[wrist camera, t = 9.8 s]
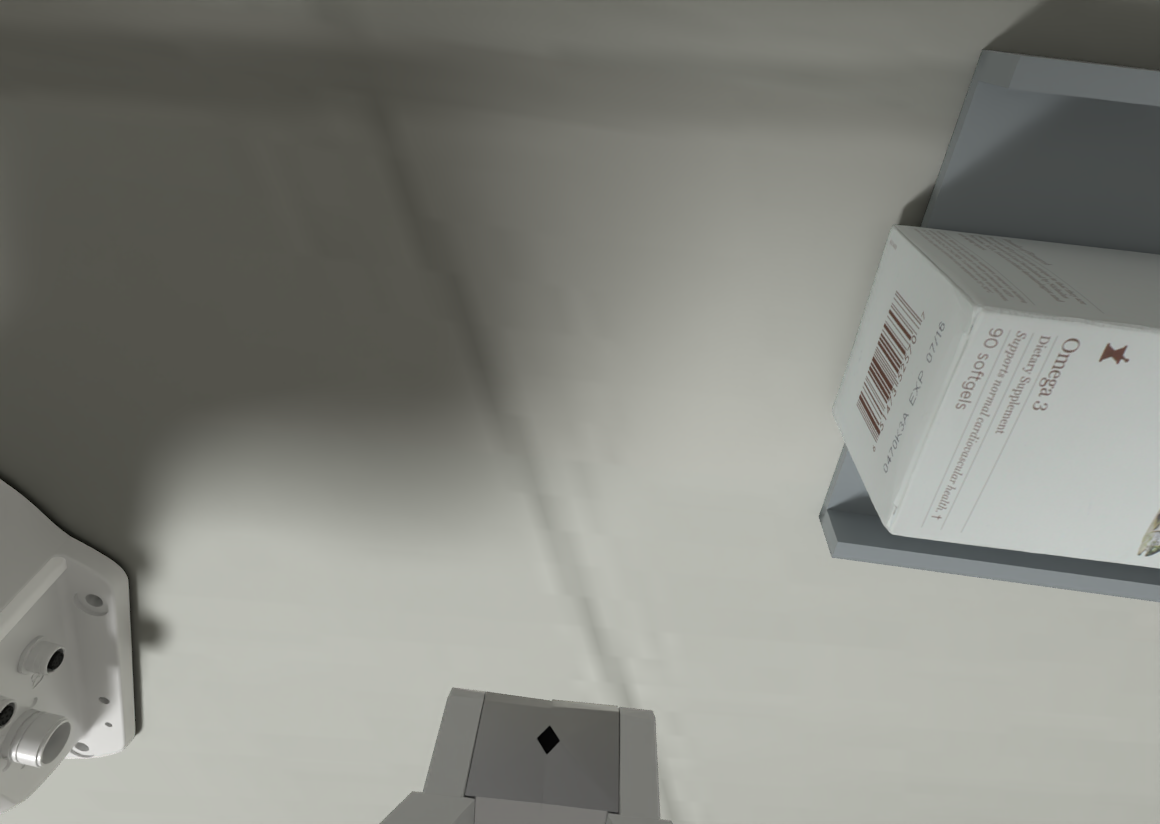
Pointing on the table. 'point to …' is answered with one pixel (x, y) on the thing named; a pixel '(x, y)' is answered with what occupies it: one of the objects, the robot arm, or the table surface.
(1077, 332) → the supplement box
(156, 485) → the table surface
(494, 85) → the table surface
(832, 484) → the tray
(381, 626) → the table surface
